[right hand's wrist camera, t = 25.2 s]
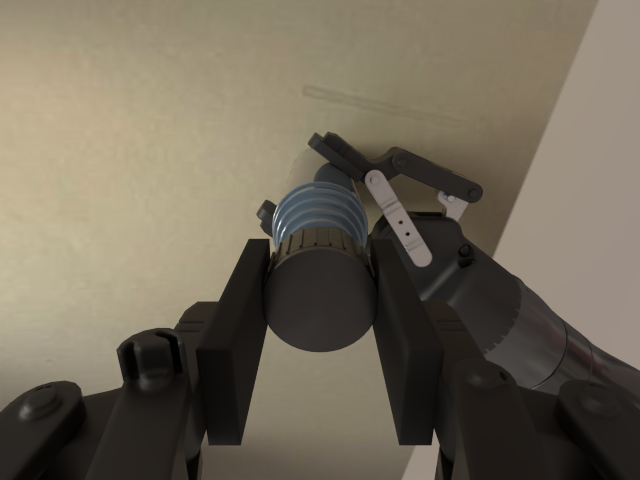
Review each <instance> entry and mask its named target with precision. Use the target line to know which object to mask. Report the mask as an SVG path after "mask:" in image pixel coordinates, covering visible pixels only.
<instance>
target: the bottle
mask: <svg viewBox="0 0 640 480" xmlns="http://www.w3.org/2000/svg"><path fill="white" fill-rule="evenodd" d="M315 226H317V227H318V226H323V227H328V226H331V228H335V229H338V230H344V232H345V233H347V234H349V235H350V236H352V237H353V236H354V237H355V239H356V240H357V241H358V242H359V243H360V245H361V246H362V245H363V246H364V249H365V246H366V243H367V236H368V220H367V216H366V212H365V210H364V207H363V204H362V202H361V199H360V196H359V194H358V191H357V188H356V186H355V183H354V180H353V179H351V178H350V177H349V176H348V175H347V174H345V173H344V172H343V171H341V170H340V169H338V168H337V167H336V166H335V165H333V164H332V163H331V162H329V161H328V160H327V159H325V158H324V157H323V156H322V155H320V154H319V153H318V152H316V151H315V150H314V149H313V148H311V149H309V150H306V151H305V152H303V153H302V154H301V155H299V156H298V157H297V159H296V160H295V161H294V163H293V165H292V168H291V171H290V173H289V176H288V179H287V181H286V184H285V187H284V189H283V192H282V194H281V197H280V200H279V202H278V205H277V208H276V210H275V213H274V216H273V222H272V232H273V241H274V245H275V248H276V249H277V248H278V246H279V243H280V242H283V240H285V239H286V238H287V237H288V236H289V234H293V233H295V232H297V231H299V230H301V229H302V228H304V229H305V228H309V227H315Z"/></svg>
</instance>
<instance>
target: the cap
mask: <svg viewBox="0 0 640 480" xmlns="http://www.w3.org/2000/svg"><path fill="white" fill-rule="evenodd" d="M374 278H376V276H375V273H374V270H373V266H372V263H371V260H370V257H369V256H367V254H366V252H365V249H364V246H363V245H362V246H361V245H360V243H359V242H358V241H357V240H356V239H355V237H354V236H353V237H352V236H350V235H349V234H347V233H345V232H344V230H338V229H335V228H331V226H328V227H323V226H318V227H317V226H315V227H309V228H305V229H304V228H302V229H301V230H299V231H297V232H295V233H293V234H289V236H288V237H287V238H286V239H285V240H283V242H280V243H279V246H278V248H277V249H276V250H275V252H273V253H272V256H271V259H270V263H269V266H268V269H267V274H266V277H265V280H264V284H263V286H264V287H263V291H262V307H263V314H264V317H265V319H266V322H267V323H268V325H269V327H270V328H271V329H272V331H273V332H274V333H275V334H276V335H277V336H278V337H279V338H280V339H282V340H283V341H284V342H286V343H288V344H289V345H291V346H293V347H296V348H298V349H302V350H305V351H311V352H329V351H335V350H339V349H342V348H344V347H347V346H349V345H351V344H353V343H354V342H356V341H357V340H359V339H360V338H361V337H362V336H363V335H364V334H365V333H366V332H367V331H368V330H369V328H370V327H371V325H372V324H373V322H374V320H375V318H376V315H377V309H378V290H377V286H376V283H375V279H374Z"/></svg>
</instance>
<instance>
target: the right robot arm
mask: <svg viewBox="0 0 640 480" xmlns="http://www.w3.org/2000/svg"><path fill="white" fill-rule="evenodd" d="M370 260H371V263H372V266H373V270H374V273H375V276H376V278H374V279H375V283H376V286H377V290H378V309H377V315H376V318H375V320H374V322H373V324H372V325H373V330H374V334H375V339H376V343H377V347H378V352H379V356H380V361H381V365H382V370H383V374H384V379H385V383H386V388H387V392H388V396H389V401H390V405H391V410H392V414H393V419H394V423H395V428H396V432H397V437H398V441H399V445H432V438H433V430H434V429H435V432H436V435H437V438H438V441H439V444H440V447H439V454H438V461H437V467H436V474H435V480H640V410H639V409H638V408H637V407H636V406H635V405H634V404H633V403H632V402H631V401H630V400H628V399H627V398H626V397H624V396H623V395H622V394H620V393H619V392H617V391H615V390H613V389H611V388H609V387H607V386H605V385H603V384H600V383H596V382H593V381H589V380H580V379H574V380H569V381H565V382H564V383H563V384H562V385H561V386H560V389H559V392H558V395H554V394H550V393H545V392H541V391H536V390H532V389H528V388H525V387H521V386H518V385H517V383H516V381H515V379H514V378H513V377H512V375H511V374H510V373H509V372H508V371H506V370H505V369H504V368H503V367H501V366H499V365H497V364H495V363H493V362H491V361H487V360H486V358H485V357H484V355H483V354H482V352H481V350H480V349H479V347H478V346H477V344H476V342H475V341H474V339H473V338H472V336H471V334H470V333H469V331H467V328H466V326H465V325H464V323H463V322H462V320H461V318H460V317H459V315H458V313H457V312H456V310H455V309H454V308H452V307H451V306H450V305H448V304H447V303H445V302H444V301H443V300H421V299H420V297H419V295H418V293H417V291H416V289H415V287H414V285H413V283H412V281H411V279H410V277H409V275H408V273H407V271H406V268H405V266H404V264H403V262H402V260H401V258H400V256H399V254H398V252H397V250H396V248H395V246H394V244H393V242H392V240H391V239H371V245H370ZM269 263H270V242H269V239H249V240H248V242H247V244H246V246H245V248H244V250H243V252H242V254H241V256H240V258H239V261H238V263H237V265H236V267H235V269H234V271H233V273H232V275H231V277H230V279H229V281H228V283H227V285H226V287H225V289H224V292H223V294H222V296H221V298H220V300H219V302H197V303H195V304H194V305H192V306H191V307H190V308H188V309H187V310H186V311H185V312H184V314H183V315H182V317H181V318H180V320H179V324H177V325H176V327H175V328H174V329H170V328H155V329H150V330H145V331H142V332H140V333H137V334H135V335H132V336H131V337H130V338H128V339H127V340H125V341H124V342H122V344H121V345H120V346H119V347H118V349H117V355H118V359H119V363H120V368H121V372H122V376H123V381H124V383H123V386H122V387H121V388H118V389H114V390H111V391H107V392H102V393H98V394H93V395H89V396H84V397H83V395H82V392H81V388H80V387H79V386H78V385H77V384H76V383H73V382H68V381H57V382H50V383H47V384H44V385H40V386H37V387H35V388H33V389H31V390H29V391H27V392H25V393H23V394H22V395H20V396H19V397H18V398H16V399H15V400H14V401H12V402H11V403H10V404H9V405H8V406H7V407H5V408H4V409H3V410H2V411H1V412H0V480H201V473H202V463H203V461H202V454H201V447H200V446H201V443H202V440H203V438H204V435H205V432H206V429H207V436H208V443H209V445H241V442H242V437H243V433H244V428H245V424H246V419H247V415H248V411H249V406H250V402H251V397H252V393H253V388H254V384H255V379H256V375H257V370H258V366H259V362H260V357H261V353H262V348H263V344H264V339H265V335H266V330H267V326H268V323H267V322H266V319H265V317H264V314H263V307H262V291H263V287H264V286H263V284H264V280H265V277H266V274H267V269H268V266H269Z"/></svg>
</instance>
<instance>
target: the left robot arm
mask: <svg viewBox="0 0 640 480" xmlns="http://www.w3.org/2000/svg"><path fill="white" fill-rule="evenodd" d="M308 145H309V146H310V147H311V148H313V149H314V150H315V151H316V152H318V153H319V154H320V155H322V156H323V157H324V158H325V159H327V160H328V161H329V162H331V163H332V164H333V165H335V166H336V167H337V168H338V169H340V170H341V171H343V172H344V173H345V174H347V175H348V176H349V177H350V178H351V179H353V180H354V181H355V182H357V183H358V181H359V180H360V181H362V182H363V183H364V184H365V185H366V186H367V188H368V189H369V191H370V193H371V194H372V196H373V197H374V199H375V201H376V202H377V204H378V205H379V207H380V209H381V210H382V212H383V215H382V217H381V218H380V219H379V220H378V221H377V222H376V224H375V226H374V228H373V230H372V232H371V234H369V235H368V236H367V243H366V246H365V252H366V254H367V256H369V257H370V245H371V239H391V240H392V242H393V244H394V246H395V248H396V250H397V252H398V254H399V256H400V258H401V260H402V262H403V264H404V266H405V268H406V271H407V273H408V275H409V277H410V279H411V281H412V283H413V285H414V287H415V289H416V291H417V293H418V295H419V297H420V299H421V300H443V301H444V302H445V303H447V304H448V305H450V306H451V307H452V308H454V309H455V310H456V312H457V313H458V315H459V317H460V318H461V320H462V322H463V323H464V325H465V326H466V328H467V331H469V333H470V334H471V336H472V338H473V339H474V341H475V342H476V344H477V346H478V347H479V349H480V350H481V352H482V354H483V355H484V357H485V358H486V360H487V361H491V362H493V363H495V364H497V365H499V366H501V367H503V368H504V369H505V370H506V371H508V372H509V373H510V374H511V375H512V377H513V378H514V379H515V381H516V383H517V385H518V386H521V387H525V388H528V389H532V390H536V391H541V392H545V393H550V394H554V395H558V392H559V389H560V386H561V385H562V384H563V383H564V382H565V381H569V380H574V379H580V380H589V381H593V382H596V383H600V384H603V385H605V386H607V387H609V388H611V389H613V390H615V391H617V392H619V393H620V394H622V395H623V396H624V397H626V398H627V399H628V400H630V401H631V402H632V403H633V404H634V405H635V406H636V407H637V408H638V409H639V410H640V371H639V370H638V369H636V368H634V367H632V366H630V365H628V364H627V363H625V362H623V361H621V360H619V359H617V358H615V357H613V356H611V355H610V354H608V353H606V352H604V351H603V350H601V349H600V348H598V347H596V346H595V345H593V344H592V343H591V342H590V341H589V340H588V339H587V338H585V337H584V336H583V335H582V334H581V333H579V332H578V331H577V330H576V329H574V328H573V327H572V326H570V325H569V324H568V323H567V322H565V321H564V320H563V319H561V318H560V317H559V316H558V315H557V314H556V313H554V312H553V311H552V310H551V309H550V308H549V306H548V305H547V304H546V303H545V302H544V301H543V300H542V299H541V298H540V297H539V296H538V295H537V294H536V293H535V292H533V291H532V290H531V289H530V288H528V287H527V286H526V285H525V284H524V283H523V282H522V280H521V279H519V278H518V277H516V276H514V275H512V274H511V273H509V272H508V271H507V270H506V269H504V268H503V267H502V266H500V265H499V264H498V263H497V262H495V261H494V260H493V259H492V258H490V257H489V256H488V255H487V254H485V253H484V252H483V251H482V250H480V249H479V248H478V247H476V246H475V245H474V244H473V243H471V242H470V241H469V240H468V239H466V238H465V237H464V235H463V233H462V230H461V227H460V225H459V224H458V221H459V219H460V217H461V215H462V214H463V212H464V210H465V209H466V207H467V205H468V203H475V202H477V201H478V200H479V199H480V198H481V197H482V194H483V190H482V188H481V186H480V185H478V184H476V183H475V182H473V181H471V180H469V179H468V178H466V177H464V176H462V175H460V174H458V173H455V172H453V171H451V170H449V169H446V168H444V167H442V166H440V165H437V164H435V163H433V162H431V161H429V160H426V159H424V158H422V157H420V156H417V155H415V154H413V153H411V152H408V151H406V150H404V149H402V148H399V147H393V148H391V149H389V150H388V152H387V153H386V154H384V155H383V156H381V157H379V158H377V159H368V158H366V157H364V156H363V155H362V154H361V153H359V152H358V151H357V150H356V149H354V148H353V147H352V146H351V145H349V144H348V143H347V142H346V141H344V140H343V139H342V138H341V137H339V136H338V135H337V134H334V133H331V132H327V133H326V135H325V136H324V137H322V136H320V135H319V134H317V133H316V132H315V133H314V135H313V136H312V137H311V139H310V140H309V142H308ZM400 173H401V174H404V175H406V176H408V177H411V178H413V179H415V180H418V181H420V182H422V183H424V184H427V185H429V186H431V187H434V188H436V189H435V191H434V196H435V198H436V199H437V200H438V201H439V202H440V203H441V204H442V206H443V210H442V212H406V211H405V209H404V208H403V206H402V204H401V203H400V201H399V200H398V198H397V196H396V195H395V193H394V191H393V190H392V188H391V186H390V185H389V183H388V180H390V179H391V178H393V177H395V176H396V175H398V174H400ZM276 208H277V206H276V205H275V204H273V203H272V202H270V201H268V200H265V202H264V203H263V204H262V206H261V207H260V208H259V210H258V212H257V216H258V218H259V219H261V220H262V222H261V224H260V226H261V228H262V229H263V231H264V232H265V233H266V234H268V235H269V236H271V237H273V232H272V222H273V216H274V213H275V210H276Z"/></svg>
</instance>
